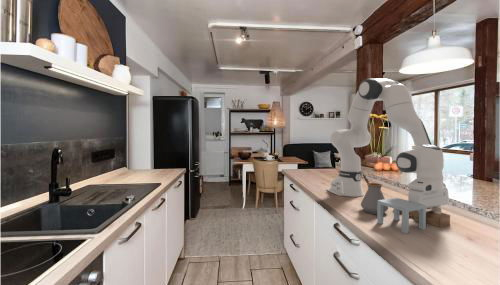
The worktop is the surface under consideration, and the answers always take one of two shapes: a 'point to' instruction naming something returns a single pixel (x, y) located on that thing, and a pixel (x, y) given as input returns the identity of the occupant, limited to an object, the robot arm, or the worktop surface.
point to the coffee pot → (372, 197)
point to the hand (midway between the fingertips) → (428, 217)
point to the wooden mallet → (433, 217)
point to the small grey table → (405, 208)
